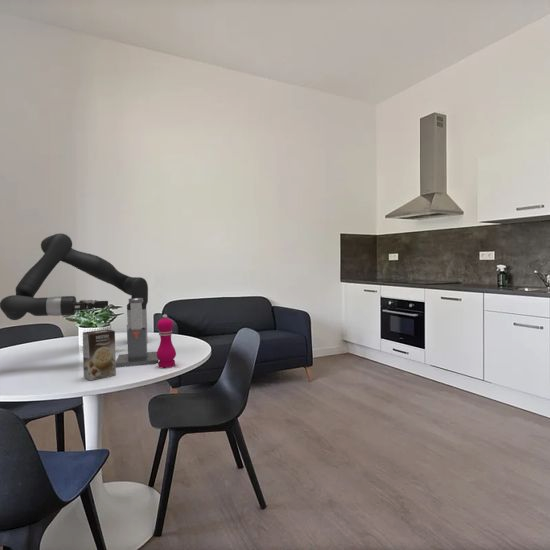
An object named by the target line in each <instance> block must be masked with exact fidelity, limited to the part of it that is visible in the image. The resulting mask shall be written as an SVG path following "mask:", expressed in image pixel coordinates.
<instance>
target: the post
mask: <svg viewBox="0 0 550 550" xmlns="http://www.w3.org/2000/svg"><path fill="white" fill-rule="evenodd" d="M142 302H143V298H131V297H130V298H128V303H130V305H131V331H132V330H142Z"/></svg>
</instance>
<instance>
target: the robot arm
mask: <svg viewBox="0 0 550 550" xmlns="http://www.w3.org/2000/svg"><path fill="white" fill-rule="evenodd" d="M40 248H41V251H42V252H43V255H42V257H40V258H39V260H38V261H37V262H36V263H35V264H34V265H33V266H32V267H31V268H30V269H28V271H27V272H26V273H25V274H24V275H23V276H22V278H21V279H20V281H19V282H18V284H17V285H16V286H15V294H14V295H12V294H11V295H8V296H6V297H4V298H2V299H1V300H0V309H1V312H3V314H4V315H5V316H6V318H7V319H9V320H11V321H18V320H20V319H22V318H23V317H24V316H25V315H27V313H28V314H31V315H33V316H34V317H36V316H37V317H45V316H46V317H47V316H49V317H50V316H51V317H60V316H62V317H63V316H64V317H65V316H75V315H76V313H77V311H90V310H94V309H105V308H106V307H108V306H109V300H96V299H95V300H93V299H80V300H79V301H77V297H76V296H74V295H64V296H63V295H61V296H60V295H59V296H49V297H34V296H36V294H37V292H38V291H39V289H40V288H41V287H42V285H43V284H44V282H45V280H46V279H47V278H48V276H49V275H50V274H51V272H52V271H53V270H55V267H56V266H57V265H59V263H60V262H62V263H64V264H67V265H70V266H72V267H74V268H76V269H77V270H80V271H81V272H84V273H86V274H88V275H89V276H91V277H93V278H96V279H97V280H100V281H102V282H104V283H106V284H109V285H111V286H113V287H115V288H117V289H119V290H120V291H121V292H123V293H125V294H127V295H128V296H131V297H130V298H143V302H142V328H145V327H146V332H147V333H148V317H147V314H148V313H147V305H148V302H149V301H148V300H149V286H148V281H147V280H146V279H145V278H144V277H140V276H139V277H138V276H137V277H133V276H129V275H127V274H124V273H123V272H120V271H119V270H118V269H117V268H116V267H115V266H114V265H113V264H112V263H111V262H109V261H108V260H106V259H104V258H102V257H100V256H98V255H96V254H91V253H87V252H83V251H79V250H76V249H74V248H73V242H72V238H71V237H70V236H69V235H68V234H65V233H62V232H61V233H54V234H53V235H49V236H47V237H45V238H44V239H43V240H42V241H41V243H40ZM126 314H127V315H126V316H127V324H126V332H127V331H128V329H130V328H131V305H130V303H129V302H128V303H127V305H126ZM126 342H127V344H128V341H126ZM147 343H148V339H147Z"/></svg>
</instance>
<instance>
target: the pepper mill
mask: <svg viewBox="0 0 550 550" xmlns="http://www.w3.org/2000/svg"><path fill="white" fill-rule="evenodd" d="M156 325H157V329H158V330H159V331H158V336H159V337H160V343H159V346H158V349H157V350H156V352H157V358H158V364H157V365H158V367H159V368H160V367H161V368H162V369H167V368H166V367H168V368H173V367H174V365H176V361H175V358H176V356H177V352H176V349H175V347H174V345H173V342H172V336H173V330H172V329H173V328H174V322H173V320H172V319H170V318H168V315H167V314H163V315H162V318H161V319H159V320H158V322H157V324H156ZM172 366H173V367H172Z"/></svg>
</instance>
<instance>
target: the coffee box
mask: <svg viewBox="0 0 550 550" xmlns="http://www.w3.org/2000/svg"><path fill="white" fill-rule="evenodd" d="M82 360H83V361H82V362H83V363H82V364H83V366H82V367H83V370H82V371H83V378H84V377H85V378H84V379H86V378H87V379H86V380H88V379H89V380H88V381H94V379H95V380H99V379H98V378H100V379H103V377H105V378H108V376H109V377H113V375H114V376H116V375H117V367H116V360H117V358H116V330H113V329H100V330H99V329H98V330H92V331H83V332H82Z"/></svg>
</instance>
